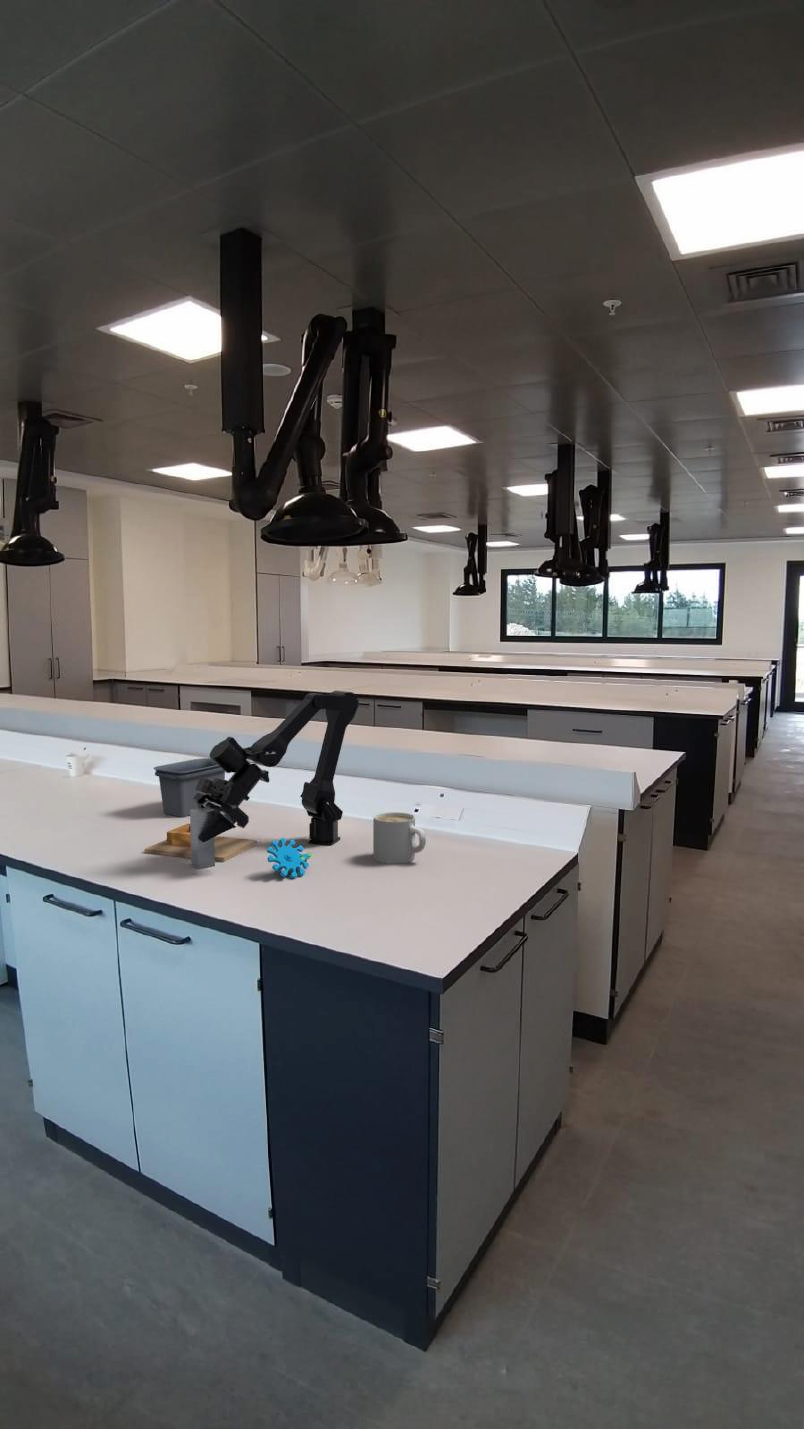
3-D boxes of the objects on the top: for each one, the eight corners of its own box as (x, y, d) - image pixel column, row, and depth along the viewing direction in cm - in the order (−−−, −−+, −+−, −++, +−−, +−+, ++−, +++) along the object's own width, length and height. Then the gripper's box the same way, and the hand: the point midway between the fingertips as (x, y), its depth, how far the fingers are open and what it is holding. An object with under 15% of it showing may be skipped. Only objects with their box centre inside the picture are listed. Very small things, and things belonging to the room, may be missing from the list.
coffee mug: (364, 857, 181) (364, 816, 180) (393, 849, 188) (393, 810, 187) (405, 869, 172) (405, 826, 171) (434, 860, 179) (434, 819, 178)
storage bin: (180, 821, 215) (179, 771, 213) (145, 813, 223) (143, 766, 222) (235, 807, 233) (234, 761, 231) (200, 800, 241) (199, 756, 240)
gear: (275, 876, 161) (264, 836, 167) (264, 890, 165) (253, 851, 170) (319, 873, 168) (307, 835, 174) (308, 887, 172) (296, 849, 177)
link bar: (207, 861, 177) (206, 807, 175) (214, 866, 174) (213, 810, 172) (191, 865, 174) (190, 809, 173) (198, 869, 171) (197, 813, 170)
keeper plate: (257, 844, 192) (257, 828, 191) (223, 861, 177) (223, 845, 176) (183, 836, 199) (182, 821, 198) (144, 852, 184) (144, 836, 183)
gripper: (200, 758, 181) (156, 810, 175) (235, 769, 167) (188, 826, 161) (230, 786, 187) (189, 837, 181) (267, 800, 172) (223, 855, 167)
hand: (196, 838), depth 172 cm, fingers open, 5 cm apart
